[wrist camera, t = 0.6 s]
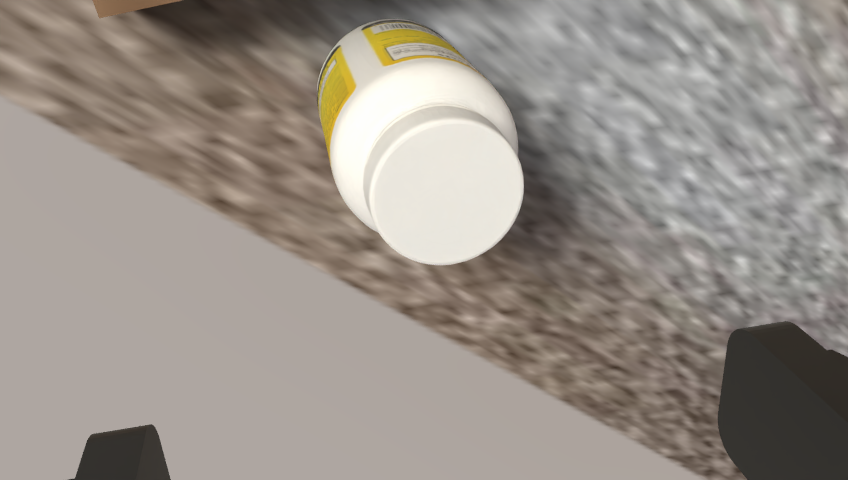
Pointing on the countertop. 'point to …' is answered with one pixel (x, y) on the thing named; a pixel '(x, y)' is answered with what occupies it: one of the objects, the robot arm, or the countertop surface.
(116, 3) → the socket block
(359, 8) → the countertop surface
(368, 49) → the supplement bottle
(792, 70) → the countertop surface
